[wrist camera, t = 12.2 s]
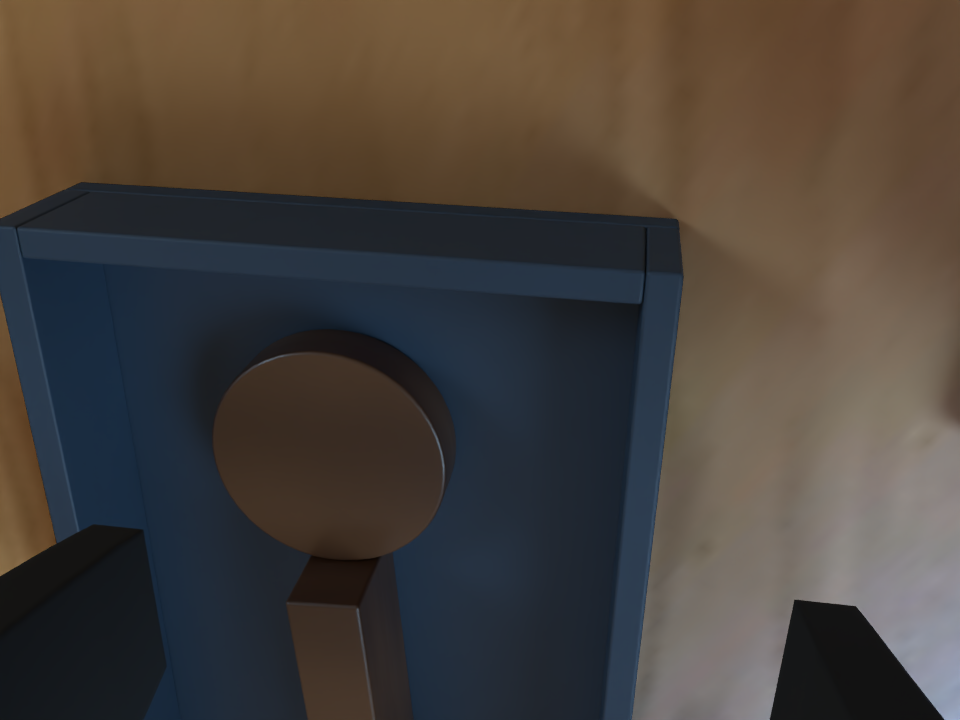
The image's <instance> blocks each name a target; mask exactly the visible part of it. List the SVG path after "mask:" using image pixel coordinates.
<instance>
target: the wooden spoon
mask: <svg viewBox="0 0 960 720" xmlns="http://www.w3.org/2000/svg"><path fill="white" fill-rule="evenodd" d="M212 447H213V454H214V460H215V463H216V467H217V470H218V473H219V475H220V478H221V480H222V482H223V485H224V486H225V488H226V490H227V492H228V493H229V495H230V497H231V498H232V499H233V501H234V502H235V504H236V505H237V506H238V508H239V509H240V510H241V511H242V512H243V513H244V514H245V515H246V516H247V518H248V519H249V520H251V521H252V522H253V523H254V524H255V525H256V526H257V527H258V528H260V529H261V530H262V531H264V532H265V533H267V534H268V535H269V536H271V537H272V538H274V539H276V540H277V541H279V542H281V543H283V544H284V545H286V546H289V547H291V548H293V549H295V550H298V551H300V552H303V553H306V554H309V555H311V556H310V558H309V560H308V562H307V564H306V566H305V567H304V569H303V571H302V573H301V575H300V577H299V579H298V580H297V582H296V584H295V586H294V588H293V590H292V592H291V593H290V595H289V597H288V599H287V601H286V608H287V614H288V619H289V624H290V629H291V635H292V640H293V645H294V650H295V656H296V661H297V666H298V672H299V677H300V682H301V687H302V693H303V698H304V703H305V708H306V714H307V719H308V720H413V712H412V704H411V696H410V688H409V680H408V672H407V664H406V656H405V648H404V640H403V632H402V624H401V616H400V608H399V600H398V592H397V584H396V576H395V568H394V560H393V552H394V551H396V550H398V549H400V548H401V547H403V546H405V545H407V544H409V543H410V542H411V541H412V540H414V539H415V538H416V537H418V536H419V535H420V534H421V533H422V532H423V531H424V530H425V529H426V528H427V527H428V525H429V524H430V523H431V521H432V520H433V518H434V517H435V515H436V513H437V511H438V509H439V507H440V505H441V503H442V500H443V497H444V494H445V492H446V489H447V486H448V483H449V481H450V478H451V475H452V471H453V468H454V464H455V457H456V436H455V430H454V424H453V421H452V418H451V415H450V412H449V409H448V407H447V405H446V403H445V401H444V398H443V397H442V395H441V393H440V392H439V390H438V389H437V387H436V385H435V384H434V383H433V382H432V380H431V379H430V378H429V377H428V375H427V374H426V373H425V372H424V371H423V370H422V369H421V368H420V367H419V366H418V365H417V364H416V363H415V362H413V361H412V360H411V359H409V358H408V357H407V356H406V355H404V354H403V353H402V352H400V351H398V350H397V349H395V348H393V347H392V346H390V345H388V344H386V343H384V342H382V341H379V340H377V339H375V338H372V337H369V336H366V335H363V334H360V333H355V332H350V331H345V330H334V329H321V330H309V331H304V332H299V333H295V334H292V335H289V336H286V337H284V338H282V339H280V340H278V341H276V342H274V343H272V344H271V345H269V346H268V347H266V348H265V349H264V350H262V351H261V352H260V353H259V354H258V355H257V356H256V357H255V358H254V359H253V360H252V361H251V362H250V363H249V364H248V365H247V366H246V367H245V368H244V369H243V371H242V372H241V373H240V374H239V375H238V376H237V377H236V378H235V379H234V380H233V381H232V383H231V384H230V385H229V387H228V388H227V390H226V391H225V392H224V394H223V396H222V398H221V400H220V402H219V404H218V407H217V410H216V413H215V416H214V422H213V428H212Z"/></svg>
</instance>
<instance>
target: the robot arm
mask: <svg viewBox="0 0 960 720" xmlns="http://www.w3.org/2000/svg"><path fill="white" fill-rule="evenodd" d="M166 667H167V664H166V659H165V653H164V647H163V641H162V635H161V629H160V624H159V618H158V612H157V606H156V600H155V595H154V589H153V583H152V577H151V571H150V566H149V560H148V554H147V548H146V542H145V536H144V531H143V529H134V528H125V527H116V526H106V525H97V524H93V525H91V526H89V527H87V528H85V529H83V530H81V531H79V532H77V533H75V534H73V535H72V536H70V537H68V538H66V539H64V540H62V541H61V542H59V543H57V544H55V545H53V546H52V547H50V548H48V549H46V550H45V551H43V552H41V553H39V554H38V555H36V556H34V557H32V558H31V559H29V560H27V561H26V562H24V563H22V564H21V565H19V566H17V567H15V568H14V569H12V570H10V571H9V572H7V573H5V574H3V575H2V576H0V720H144V717H145V715H146V713H147V711H148V709H149V706H150V704H151V702H152V700H153V697H154V695H155V693H156V690H157V688H158V686H159V683H160V681H161V679H162V677H163V674H164V672H165V670H166ZM770 720H944V718H943V717H942V716H941V715H940V713H939V712H938V711H937V710H936V708H935V707H934V706H933V705H932V703H931V702H930V701H929V700H928V698H927V697H926V696H925V694H924V693H923V692H922V691H921V689H920V688H919V687H918V686H917V684H916V683H915V682H914V680H913V679H912V678H911V677H910V675H909V674H908V673H907V671H906V670H905V669H904V667H903V666H902V665H901V664H900V662H899V661H898V660H897V658H896V657H895V656H894V654H893V653H892V652H891V651H890V649H889V648H888V647H887V645H886V644H885V643H884V641H883V640H882V639H881V638H880V636H879V635H878V634H877V632H876V631H875V630H874V628H873V627H872V626H871V625H870V623H869V622H868V621H867V619H866V618H865V617H864V616H863V615H862V613H861V612H860V611H859V610H858V608H857V607H856V606H848V605H839V604H830V603H820V602H811V601H802V600H794V605H793V610H792V615H791V620H790V624H789V629H788V634H787V639H786V644H785V649H784V654H783V659H782V664H781V668H780V673H779V678H778V683H777V688H776V693H775V698H774V703H773V708H772V712H771V717H770Z"/></svg>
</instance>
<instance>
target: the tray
mask: <svg viewBox="0 0 960 720" xmlns="http://www.w3.org/2000/svg"><path fill="white" fill-rule="evenodd" d="M683 278H684V276H683V265H682V254H681V243H680V233H679V222H678V220H677V219H669V218H653V217H637V216H620V215H604V214H588V213H572V212H556V211H539V210H523V209H507V208H491V207H474V206H458V205H442V204H426V203H410V202H393V201H377V200H361V199H345V198H328V197H312V196H296V195H280V194H264V193H247V192H231V191H215V190H199V189H182V188H166V187H150V186H134V185H118V184H101V183H85V182H81V183H79V184H76V185H74V186H72V187H70V188H68V189H66V190H63V191H61V192H58V193H56V194H54V195H52V196H50V197H47V198H45V199H43V200H41V201H38V202H36V203H34V204H32V205H30V206H27V207H25V208H23V209H21V210H19V211H16V212H14V213H12V214H10V215H8V216H5V217H3V218H1V219H0V294H1V298H2V303H3V307H4V312H5V316H6V321H7V325H8V330H9V334H10V338H11V343H12V347H13V352H14V356H15V361H16V365H17V369H18V374H19V378H20V383H21V387H22V392H23V396H24V401H25V405H26V409H27V414H28V418H29V423H30V427H31V432H32V436H33V441H34V445H35V449H36V454H37V458H38V463H39V467H40V472H41V476H42V480H43V485H44V489H45V494H46V498H47V503H48V507H49V512H50V516H51V520H52V525H53V529H54V534H55V538H56V543H59V542H61V541H62V540H64V539H66V538H68V537H70V536H72V535H73V534H75V533H77V532H79V531H81V530H83V529H85V528H87V527H89V526H91V525H93V524H97V525H106V526H116V527H125V528H134V529H143V531H144V536H145V542H146V548H147V554H148V560H149V566H150V571H151V577H152V583H153V589H154V595H155V600H156V606H157V612H158V618H159V624H160V629H161V635H162V641H163V647H164V653H165V659H166V664H167V667H166V670H165V672H164V674H163V677H162V679H161V681H160V683H159V686H158V688H157V690H156V693H155V695H154V697H153V700H152V702H151V704H150V706H149V709H148V711H147V713H146V715H145V717H144V720H308V719H307V714H306V708H305V703H304V698H303V693H302V687H301V682H300V677H299V672H298V666H297V661H296V656H295V650H294V645H293V640H292V635H291V629H290V624H289V619H288V614H287V608H286V601H287V599H288V597H289V595H290V593H291V592H292V590H293V588H294V586H295V584H296V582H297V580H298V579H299V577H300V575H301V573H302V571H303V569H304V567H305V566H306V564H307V562H308V560H309V558H310V556H311V555H309V554H306V553H303V552H300V551H298V550H295V549H293V548H291V547H289V546H286V545H284V544H283V543H281V542H279V541H277V540H276V539H274V538H272V537H271V536H269V535H268V534H267V533H265V532H264V531H262V530H261V529H260V528H258V527H257V526H256V525H255V524H254V523H253V522H252V521H251V520H249V519H248V518H247V516H246V515H245V514H244V513H243V512H242V511H241V510H240V509H239V508H238V506H237V505H236V504H235V502H234V501H233V499H232V498H231V497H230V495H229V493H228V492H227V490H226V488H225V486H224V485H223V482H222V480H221V478H220V475H219V473H218V470H217V467H216V463H215V460H214V454H213V447H212V428H213V422H214V416H215V413H216V410H217V407H218V404H219V402H220V400H221V398H222V396H223V394H224V392H225V391H226V390H227V388H228V387H229V385H230V384H231V383H232V381H233V380H234V379H235V378H236V377H237V376H238V375H239V374H240V373H241V372H242V371H243V369H244V368H245V367H246V366H247V365H248V364H249V363H250V362H251V361H252V360H253V359H254V358H255V357H256V356H257V355H258V354H259V353H260V352H261V351H262V350H264V349H265V348H266V347H268V346H269V345H271V344H272V343H274V342H276V341H278V340H280V339H282V338H284V337H286V336H289V335H292V334H295V333H299V332H304V331H309V330H321V329H334V330H345V331H350V332H355V333H360V334H363V335H366V336H369V337H372V338H375V339H377V340H379V341H382V342H384V343H386V344H388V345H390V346H392V347H393V348H395V349H397V350H398V351H400V352H402V353H403V354H404V355H406V356H407V357H408V358H409V359H411V360H412V361H413V362H415V363H416V364H417V365H418V366H419V367H420V368H421V369H422V370H423V371H424V372H425V373H426V374H427V375H428V377H429V378H430V379H431V380H432V382H433V383H434V384H435V385H436V387H437V389H438V390H439V392H440V393H441V395H442V397H443V398H444V401H445V403H446V405H447V407H448V409H449V412H450V415H451V418H452V421H453V424H454V430H455V436H456V457H455V464H454V468H453V471H452V475H451V478H450V481H449V483H448V486H447V489H446V492H445V494H444V497H443V500H442V503H441V505H440V507H439V509H438V511H437V513H436V515H435V517H434V518H433V520H432V521H431V523H430V524H429V525H428V527H427V528H426V529H425V530H424V531H423V532H422V533H421V534H420V535H419V536H418V537H416V538H415V539H414V540H412V541H411V542H410V543H409V544H407V545H405V546H403V547H401V548H400V549H398V550H396V551H394V552H393V560H394V568H395V576H396V584H397V592H398V600H399V608H400V616H401V624H402V632H403V640H404V648H405V656H406V664H407V672H408V680H409V688H410V696H411V704H412V712H413V720H632V713H633V704H634V696H635V687H636V679H637V670H638V661H639V653H640V644H641V636H642V627H643V619H644V610H645V602H646V593H647V585H648V576H649V568H650V559H651V551H652V542H653V534H654V525H655V517H656V508H657V499H658V491H659V482H660V474H661V465H662V457H663V448H664V440H665V431H666V423H667V414H668V406H669V397H670V389H671V380H672V372H673V363H674V355H675V346H676V337H677V329H678V320H679V312H680V303H681V295H682V286H683Z"/></svg>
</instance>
